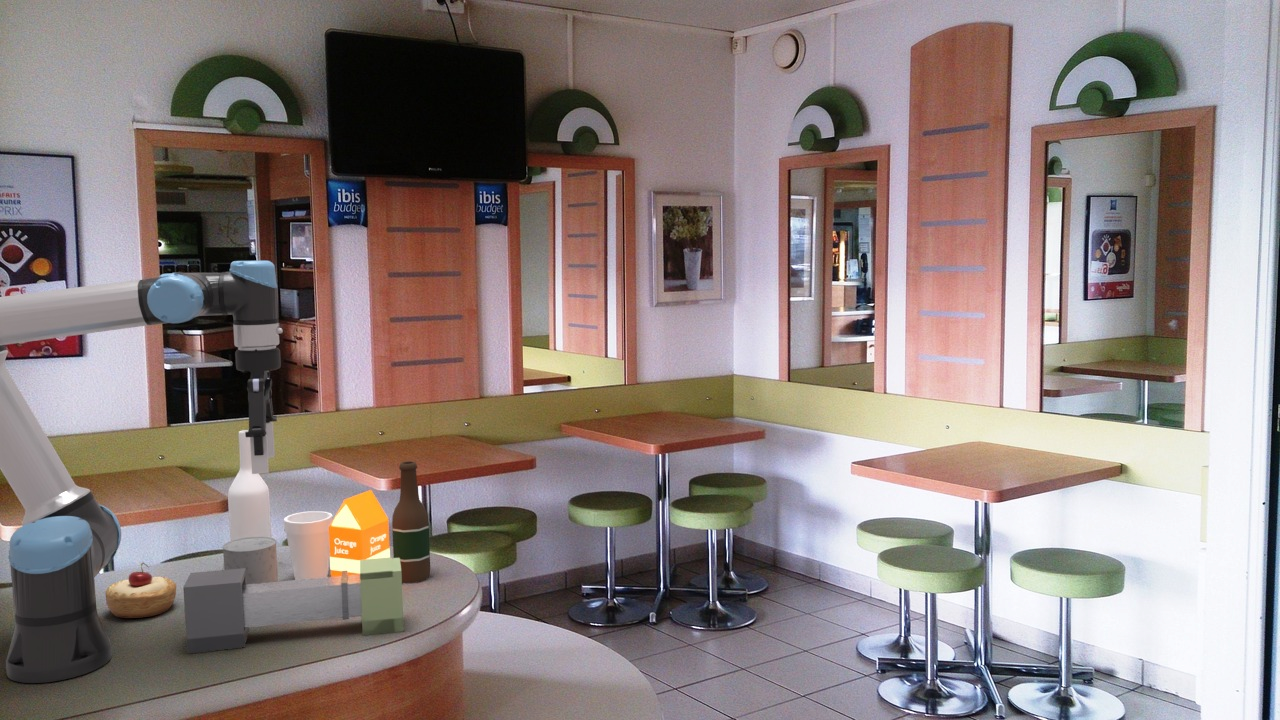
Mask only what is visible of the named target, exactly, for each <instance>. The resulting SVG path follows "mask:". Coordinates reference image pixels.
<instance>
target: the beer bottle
mask: <svg viewBox="0 0 1280 720" xmlns="http://www.w3.org/2000/svg"><path fill="white" fill-rule="evenodd" d="M398 468H399V470H400V489H399V490H400V493H399V494H400V495H399V500H398V503H397V504H396V506H395V508H394V510H393V513H392V519H391V520H392V521H391V522H392V523H391V525H392V529H391V531H392V553H393V556H392V558H400V564H401V574H402V584H403V583H404V584H409V583H410V584H412V583H421V582H423V581H425V580H428V579H430V578H431V552H430V551H431V550H430V549H431V548H430V547H431V546H430V524H429V516H428V513H427V510H426V506H424V504H423V503H422V501H421V500H420V496H419V489H418V488H419V487H418V477H417V469H418V465H417V462H416V461H412V460H407V461H406V460H405V461H402V462H400V463H399V466H398Z"/></svg>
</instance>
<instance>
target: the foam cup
mask: <svg viewBox="0 0 1280 720" xmlns="http://www.w3.org/2000/svg"><path fill="white" fill-rule="evenodd" d="M333 516H334V515H333V514H332V513H331V512H328V511H323V510H322V511H321V510H311V511H301V512H296V513H292V514H288V515H286V516H285V517H284V518H283V528H284V532H285V534H286V539H287V544H288V545H287V546H288V551H289V556H290V560H291V566H292V571H293V575H294V580H302V579H313V578H324V577H328V575H329V569H330V566H329V565H330V544H329V526H330V524H331V523H332V521H333V519H334V518H333Z"/></svg>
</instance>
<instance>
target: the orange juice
mask: <svg viewBox="0 0 1280 720" xmlns="http://www.w3.org/2000/svg"><path fill="white" fill-rule="evenodd" d="M388 517H389V516H387V514H386V512H385V511H384V509H383V508H382V505H381V504H380V502H379V501H378V499H377V497H376V496H375V494H374V493H373V490H372V489H369V490H367V491H365V492H362V493H358V494H356V495H353V496H351V497H347V498H345V499H343V501H342V503H341V505H340V507H339V509H338V511H337V512H336V514H335V516H334V518H333V521H332V523H331V524H330V526H329V544H330V556H329V565H330V566H329V569H330V577H336V576H342V571H348V575H358V574H360V560H365V559H377V558H389V557H391V550H390V549H391V547H390V528H389V527H390V526H389V518H388Z"/></svg>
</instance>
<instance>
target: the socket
mask: <svg viewBox="0 0 1280 720" xmlns="http://www.w3.org/2000/svg"><path fill="white" fill-rule="evenodd" d="M360 583H361V606H362V616H361V622H362V623H361V625H362V636H369V635H370V634H372V635H378V634H379V635H380V634H381V635H382V634H389V633H390V634H391V633H398V632H399V633H400V632H404V631H405V629H404V605H403V602H404V600H403V582H402V574H401V564H400V558H393V557H392V556H390V557H389V558H377V559H365V560H360ZM370 636H371V635H370Z"/></svg>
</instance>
